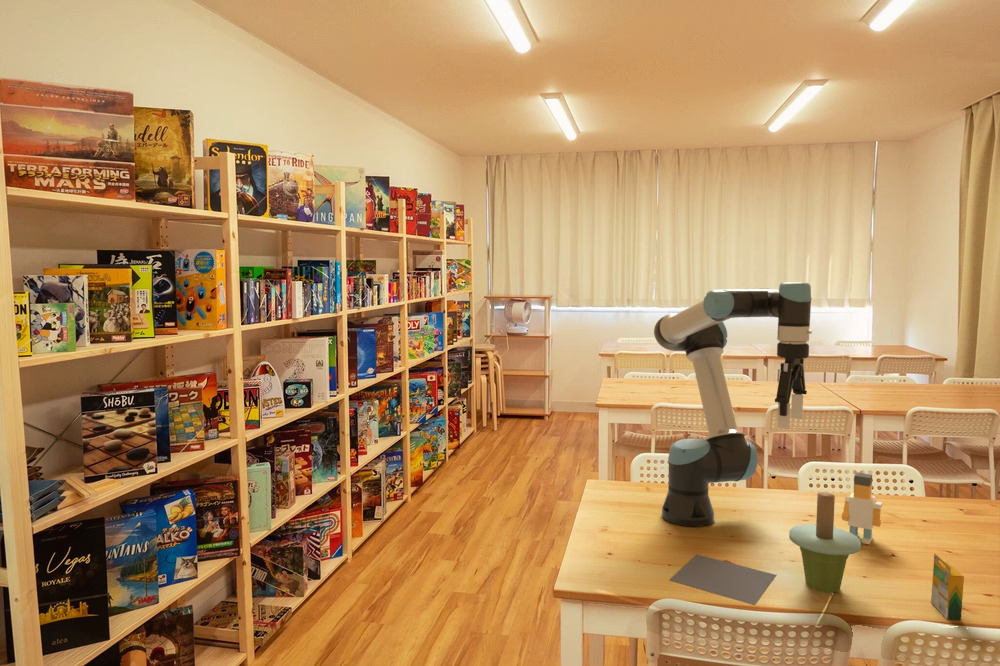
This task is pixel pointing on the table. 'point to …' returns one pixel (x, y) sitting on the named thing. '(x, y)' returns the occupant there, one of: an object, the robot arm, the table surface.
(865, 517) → the character figure
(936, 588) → the crayon box
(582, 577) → the table surface
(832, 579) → the plant pot
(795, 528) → the lid
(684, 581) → the mat
